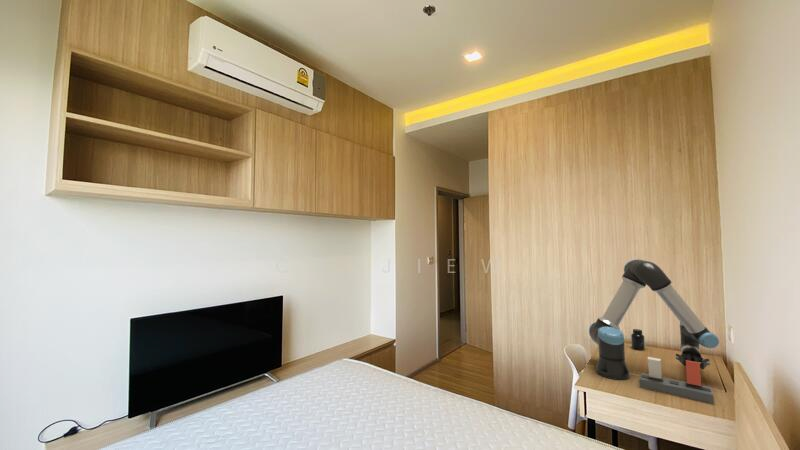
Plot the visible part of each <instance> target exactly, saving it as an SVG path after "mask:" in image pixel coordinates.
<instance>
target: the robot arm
mask: <svg viewBox="0 0 800 450" xmlns="http://www.w3.org/2000/svg"><path fill="white" fill-rule="evenodd" d="M623 272H624V273H623V274H622V276H621V278H622V282H621V284H620V286H619V287H618V289H617V291H616V293H615V295H614V296H613V298H612V299H611V301H610V303H609V305H608V306H607V308H606V310H605V312H604V314H603V315H602V316H600V317H598V318H597V319H596V321H595V322H592V323H591V324H590V326H589V328H588V333H589V336H590V338H591V340H592V341H593V342H594V343H595V344H597V345H598V355H599V356H598V359H597V363H596V365H595V371H596V373H597V374H598V375H600V376H602V377H603V378H604V377H605V378H607V379H612V380H619V381H620V380H621V381H622V380H623V381H624V380H627V379H629V378H630V377H631V376H630V374H631V373H630V371H629V367H628V366H627V362H626V358H625V355H626V354H625V335H624V333H623V331H622V330H621V328H620V326H619V325H620V323H621V322H622V320H623V319H624V317H625V315H626V314H627V311H628V310H629V308H630V306H631V305H632V303H633V301H634V299H635V298H636V296H637V295H638V293H639V291H640V289H643V288H646V286H648V288H650V290H651V291H652V292H655V293H656V294H657V295H658V296H659V298H660V299H662V301H663V303H664V304H665V305H666V306H667V307H668V308H669V310H670V311H671V312H672V314H673V315H674V316H675V317H676V318H677V320H679V332H680V334H679V335H680V350H681V354H679V353H675V359H676V360H678V362H680V363H681V365H682V366H683V367H686V360H688V361H694V362H699V363H700V370H705V369H706V367H708V366H710V365H711V364H710V363H711V362H710V359H709V358H703V357H702V354H701V350H700V346H702V347H705V348H707V349H714V348H716V347H718V346H719V344H720V340H719V337H718V336H717V335H716V334H714V333H713V332H711V331H710V330H709V329H708V327H706V326H705V324H704V323H703V322H702V320H701V319H700V318H699V317H698V316H697V314H696V313H695V312H694V311H693V310H692V309H691V307H690V306H689V305H688V304H687V302H686V301H685V300H684V299H683V297H682V296H681V295H680V293H678V291H677V290H676V289H675V287H674V286H673V285H672V283H673V282H672V281H671V279H670V278H669V277H668V276H667V274H666V273H665V272H664V270H663V269H662V268H661V267H660V266H658V264H656V263H654V262H653V261H649V260H648V261H647V260H645V259H631V260H629V261H627V262H626V263H625V265H624V267H623Z"/></svg>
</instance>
